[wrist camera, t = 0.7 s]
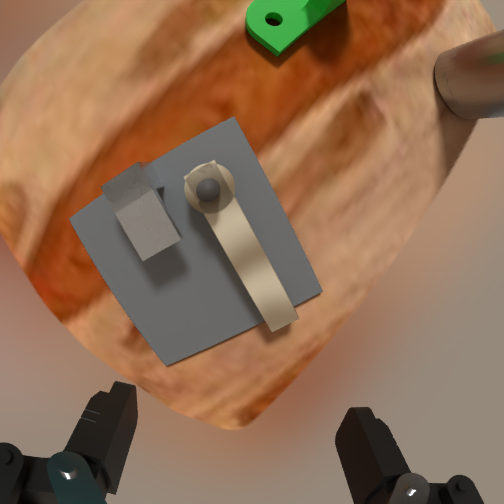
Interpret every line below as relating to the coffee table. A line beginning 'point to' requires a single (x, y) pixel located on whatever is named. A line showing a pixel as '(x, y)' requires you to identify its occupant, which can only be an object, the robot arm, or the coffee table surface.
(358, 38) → the coffee table surface
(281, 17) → the mechanical part
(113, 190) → the keeper
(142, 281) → the base plate
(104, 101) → the coffee table surface
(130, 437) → the robot arm
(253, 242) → the latch bar
